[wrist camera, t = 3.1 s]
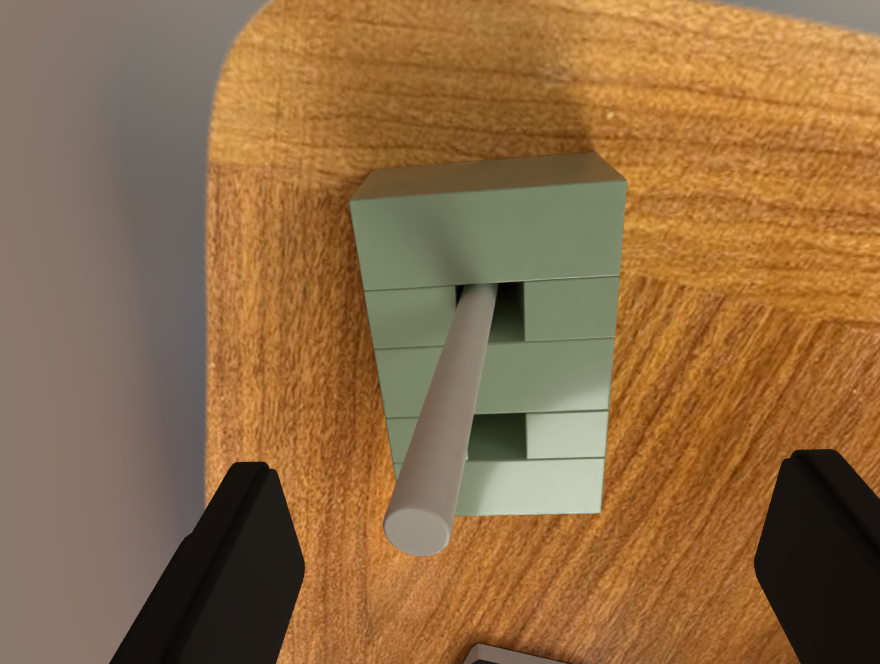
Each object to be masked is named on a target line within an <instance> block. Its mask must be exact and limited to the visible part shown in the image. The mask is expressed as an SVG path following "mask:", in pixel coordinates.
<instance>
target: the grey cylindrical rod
mask: <svg viewBox="0 0 880 664" xmlns="http://www.w3.org/2000/svg"><path fill="white" fill-rule="evenodd" d="M498 286H499V283H483V284H466V285H464V288H463V291H462V294H461V297H460V300H459V303H458V305H457V308H456V311H455V314H454V317H453V320H452V323H451V326H450V329H449V332H448V334H447V337H446V340H445V343H444V346H443V349H442V352H441V355H440V358H439V361H438V363H437V366H436V369H435V372H434V375H433V378H432V381H431V384H430V387H429V390H428V392H427V395H426V398H425V401H424V404H423V407H422V410H421V413H420V416H419V418H418V421H417V424H416V427H415V430H414V433H413V436H412V439H411V442H410V445H409V447H408V450H407V453H406V456H405V459H404V462H403V465H402V468H401V471H400V474H399V476H398V479H397V482H396V485H395V488H394V491H393V494H392V497H391V500H390V503H389V505H388V508H387V511H386V514H385V517H384V520H383V528H384V533H385V535H386V537H387V539H388V540H389V541H390V543H391V544H392V545H394V546H395V547H396V548H398V549H399V550H401V551H403V552H405V553H408V554H411V555H415V556H429V555H434V554H436V553H438V552H440V551H442V550H443V549H444V548H445V547H446V545H447V544H448V543H449V540H450V537H451V531H452V526H453V521H454V516H455V511H456V505H457V500H458V495H459V490H460V484H461V479H462V474H463V469H464V463H465V458H466V453H467V448H468V443H469V437H470V432H471V427H472V422H473V416H474V411H475V406H476V401H477V395H478V390H479V385H480V380H481V374H482V369H483V364H484V359H485V354H486V348H487V343H488V338H489V333H490V327H491V322H492V317H493V312H494V306H495V301H496V296H497V291H498Z"/></svg>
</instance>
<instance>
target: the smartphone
mask: <svg viewBox="0 0 880 664" xmlns="http://www.w3.org/2000/svg"><path fill="white" fill-rule="evenodd" d="M463 664H567V663H562V662H558V661H554V660H549V659H545V658H541V657H536V656H532V655H527V654H523V653H519V652H514V651H510V650H506V649H501V648H497V647H492V646H488V645H484V644H477V645H475V646H474V647H472V648H471V650H470V652H469V654H468V656H467V658H466V659H465V661H464V663H463Z"/></svg>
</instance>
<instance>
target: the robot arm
mask: <svg viewBox="0 0 880 664" xmlns="http://www.w3.org/2000/svg"><path fill="white" fill-rule="evenodd" d="M754 568H755V573H756V577H757V579H758V581H759V583H760V585H761V587H762V589H763V591H764V593H765V595H766V597H767V599H768V601H769V603H770V605H771V607H772V609H773V611H774V612H775V614H776V616H777V618H778V620H779V622H780V624H781V626H782V628H783V630H784V632H785V634H786V636H787V638H788V640H789V642H790V644H791V645H792V647H793V649H794V651H795V653H796V655H797V657H798V659H799V661H800V663H801V664H880V499H879V498H878V497H877V496H876V494H875V493H874V492H873V491H872V490H871V489H870V488H869V486H868V485H867V484H866V483H865V482H864V481H863V480H862V478H861V477H860V476H859V475H858V474H857V473H856V472H855V470H854V469H853V468H852V467H851V466H850V465H849V463H848V462H847V461H846V460H845V459H844V458H843V457H842V455H840V454H839V453H838V452H837V451H835V450H833V449H815V450H795V451H794V452H793V453H792V455H791V457H790V458H787V459H784V460H783V461H782V464H781V467H780V470H779V474H778V477H777V481H776V484H775V488H774V491H773V495H772V498H771V502H770V505H769V509H768V513H767V516H766V520H765V523H764V527H763V530H762V534H761V537H760V541H759V544H758V548H757V551H756V555H755V559H754ZM304 573H305V563H304V558H303V555H302V552H301V548H300V545H299V542H298V539H297V535H296V532H295V529H294V525H293V522H292V519H291V516H290V512H289V509H288V506H287V503H286V499H285V496H284V493H283V489H282V486H281V483H280V480H279V476H278V473H277V471H276V470H275V469H269V466H268V464H267V463H266V462H236V463H234V464H233V465H232V466H231V467H230V469H229V470H228V472H227V474H226V475H225V477H224V479H223V480H222V482H221V484H220V486H219V487H218V489H217V491H216V492H215V494H214V496H213V498H212V499H211V501H210V503H209V504H208V506H207V508H206V510H205V511H204V513H203V515H202V517H201V518H200V520H199V522H198V523H197V525H196V527H195V528H194V530H193V532H192V533H191V534H189V535H188V536H187V537H185V538H184V540H183V541H182V542H181V544H180V545H179V547H178V549H177V551H176V552H175V554H174V555H173V557H172V559H171V560H170V562H169V564H168V566H167V567H166V569H165V570H164V572H163V574H162V575H161V577H160V579H159V580H158V582H157V584H156V586H155V587H154V589H153V591H152V592H151V594H150V596H149V597H148V599H147V601H146V602H145V604H144V606H143V607H142V609H141V611H140V613H139V614H138V616H137V617H136V619H135V621H134V623H133V624H132V626H131V628H130V629H129V631H128V633H127V635H126V636H125V638H124V639H123V641H122V643H121V644H120V646H119V648H118V650H117V651H116V653H115V654H114V656H113V658H112V660H111V661H110V663H109V664H276V662H277V659H278V655H279V652H280V649H281V646H282V643H283V640H284V637H285V634H286V631H287V628H288V625H289V622H290V619H291V616H292V613H293V610H294V607H295V603H296V600H297V597H298V594H299V591H300V588H301V585H302V582H303V578H304Z"/></svg>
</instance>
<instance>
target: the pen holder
mask: <svg viewBox="0 0 880 664" xmlns="http://www.w3.org/2000/svg"><path fill="white" fill-rule="evenodd" d="M626 190H627V180H626V179H625V178H624V177H623V176H622V175H621V174H620V173H619V172H618V171H616V170H615V169H614V168H613V167H612V166H611V165H610V164H609V163H607V162H606V161H605V160H604V159H603V158H602V157H601V156H600V155H598V154H597V153H596V152H584V153H571V154H558V155H546V156H533V157H520V158H508V159H495V160H482V161H469V162H457V163H444V164H431V165H418V166H406V167H393V168H380V169H373V170H372V171H371V173H370V174H369V175H368V176H367V178H366V179H365V180H364V182H363V183H362V184H361V185H360V187H359V188H358V189H357V191H356V192H355V193H354V194H353V196H352V197H351V198H350V200H349V207H350V212H351V218H352V224H353V230H354V236H355V242H356V248H357V254H358V260H359V266H360V272H361V278H362V284H363V289H364V296H365V302H366V308H367V314H368V320H369V326H370V332H371V338H372V344H373V348H374V354H375V360H376V366H377V372H378V378H379V384H380V390H381V396H382V402H383V408H384V414H385V417H386V419H385V420H386V426H387V432H388V438H389V444H390V450H391V456H392V461H393V468H394V474H395V480H396V482H397V479H398V476H399V474H400V471H401V468H402V465H403V462H404V459H405V456H406V453H407V450H408V447H409V445H410V442H411V439H412V436H413V433H414V430H415V427H416V424H417V421H418V418H419V416H420V413H421V410H422V407H423V404H424V401H425V398H426V395H427V392H428V390H429V387H430V384H431V381H432V378H433V375H434V372H435V369H436V366H437V363H438V361H439V358H440V355H441V352H442V349H443V346H444V343H445V340H446V337H447V334H448V332H449V329H450V326H451V323H452V320H453V317H454V314H455V311H456V308H457V305H458V303H459V300H460V297H461V294H462V288H461V285H466V284H483V283H500V282H515V289H506V290H498V291H497V296H496V301H495V306H494V312H493V317H492V322H491V327H490V333H489V338H488V343H487V348H486V354H485V359H484V364H483V369H482V374H481V380H480V385H479V390H478V395H477V401H476V406H475V411H474V416H473V422H472V427H471V432H470V437H469V443H468V448H467V453H466V458H465V463H464V469H463V474H462V479H461V484H460V490H459V495H458V500H457V505H456V511H455V516H494V515H543V514H591V513H601V508H602V495H603V482H604V470H605V456H606V445H607V433H608V420H609V404H610V392H611V379H612V366H613V353H614V340H615V338H614V337H615V332H616V320H617V307H618V294H619V281H620V276H619V274H620V267H621V254H622V241H623V229H624V216H625V203H626Z"/></svg>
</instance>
